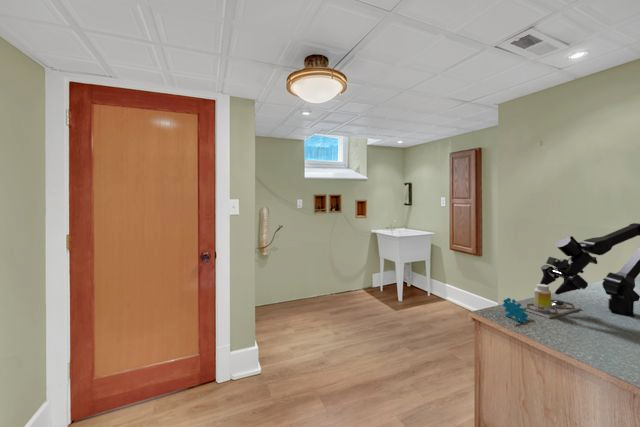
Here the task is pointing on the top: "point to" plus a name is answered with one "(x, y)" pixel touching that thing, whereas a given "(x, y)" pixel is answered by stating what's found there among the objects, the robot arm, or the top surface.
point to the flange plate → (553, 308)
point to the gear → (515, 310)
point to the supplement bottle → (542, 297)
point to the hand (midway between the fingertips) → (547, 290)
